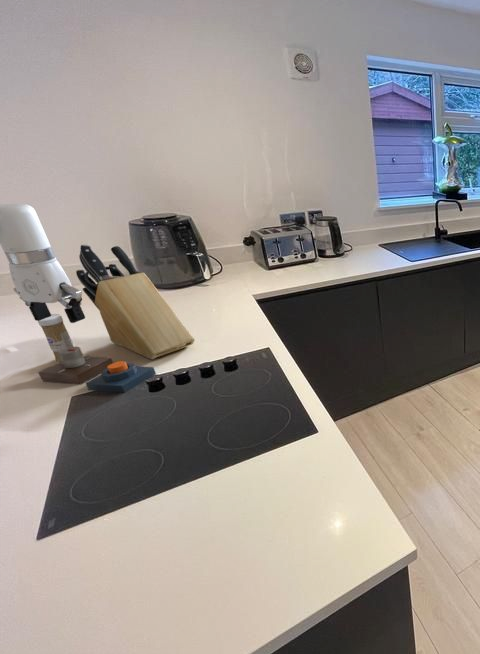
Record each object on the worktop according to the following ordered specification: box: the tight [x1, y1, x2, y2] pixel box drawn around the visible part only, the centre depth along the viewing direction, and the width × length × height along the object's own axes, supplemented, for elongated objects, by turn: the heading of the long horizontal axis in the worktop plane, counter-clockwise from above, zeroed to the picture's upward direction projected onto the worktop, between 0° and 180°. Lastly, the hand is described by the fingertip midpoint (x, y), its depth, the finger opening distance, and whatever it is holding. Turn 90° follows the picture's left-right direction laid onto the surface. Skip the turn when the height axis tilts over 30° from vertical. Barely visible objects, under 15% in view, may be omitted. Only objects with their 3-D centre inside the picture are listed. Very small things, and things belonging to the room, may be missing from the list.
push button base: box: [85, 362, 157, 394], centre depth 106 cm, size 10×9×4 cm
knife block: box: [75, 244, 195, 360], centre depth 121 cm, size 11×35×31 cm, turn 64°
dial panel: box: [37, 355, 114, 385], centre depth 109 cm, size 11×9×3 cm
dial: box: [58, 346, 86, 368], centre depth 108 cm, size 4×4×5 cm
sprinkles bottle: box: [37, 313, 75, 362], centre depth 114 cm, size 5×5×13 cm
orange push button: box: [107, 360, 128, 374], centre depth 105 cm, size 4×4×2 cm
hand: (60, 319), depth 104 cm, fingers open, 9 cm apart
